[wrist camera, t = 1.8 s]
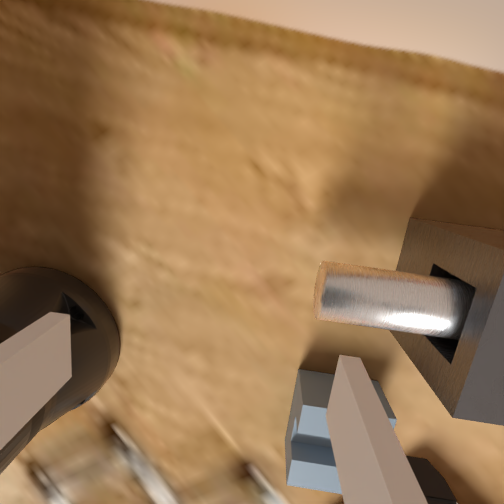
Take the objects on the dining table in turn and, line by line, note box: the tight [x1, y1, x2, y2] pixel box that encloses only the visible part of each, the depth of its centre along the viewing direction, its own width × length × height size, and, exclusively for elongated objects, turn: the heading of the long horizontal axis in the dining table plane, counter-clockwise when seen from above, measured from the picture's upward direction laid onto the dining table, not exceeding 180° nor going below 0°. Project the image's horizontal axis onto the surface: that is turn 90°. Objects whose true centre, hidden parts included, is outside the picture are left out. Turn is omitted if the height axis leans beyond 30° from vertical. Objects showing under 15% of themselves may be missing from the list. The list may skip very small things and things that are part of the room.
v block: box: [285, 369, 397, 494], centre depth 30 cm, size 8×9×5 cm
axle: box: [314, 261, 477, 340], centre depth 21 cm, size 20×4×4 cm, turn 83°
